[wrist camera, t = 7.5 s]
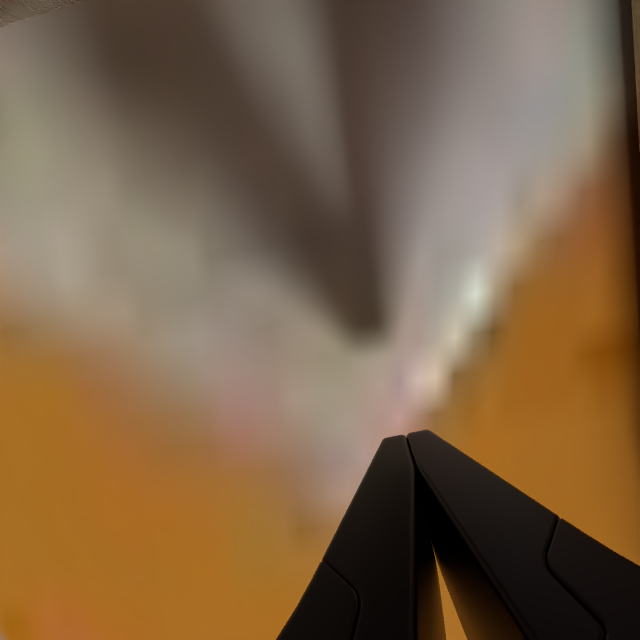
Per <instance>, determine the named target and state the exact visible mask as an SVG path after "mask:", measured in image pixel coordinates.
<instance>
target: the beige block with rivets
mask: <svg viewBox="0 0 640 640" xmlns="http://www.w3.org/2000/svg"><path fill="white" fill-rule="evenodd" d="M631 4H632V22H633V40H634V59H635V77H636V95H637V113H638V132H639V150H640V0H631Z"/></svg>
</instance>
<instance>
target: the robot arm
mask: <svg viewBox="0 0 640 640" xmlns="http://www.w3.org/2000/svg"><path fill="white" fill-rule="evenodd" d="M432 545H433V546H432ZM433 549H434V550H433ZM434 552H435V555H434ZM435 556H436V559H437V562H438V565H439V568H440V570H441V573H442V576H443V578H444V581H445V584H446V586H447V589H448V591H449V594H450V596H451V599H452V601H453V604H454V607H455V609H456V612H457V614H458V617H459V619H460V622H461V624H462V627H463V629H464V632H465V635H466V637H467V640H640V566H639V565H637V564H635V563H633V562H632V561H630V560H628V559H626V558H625V557H623V556H621V555H619V554H617V553H616V552H614V551H613V550H611V549H609V548H608V547H606V546H605V545H603V544H601V543H600V542H598V541H597V540H595V539H593V538H592V537H590V536H589V535H587V534H585V533H584V532H582V531H581V530H579V529H578V528H576V527H575V526H573V525H572V524H570V523H569V522H567V521H566V520H564V519H560V518H559V516H558V515H556V514H555V513H553V512H552V511H550V510H549V509H547V508H546V507H544V506H543V505H541V504H540V503H538V502H537V501H535V500H534V499H532V498H531V497H529V496H528V495H526V494H525V493H523V492H522V491H520V490H518V489H517V488H515V487H514V486H512V485H511V484H509V483H508V482H506V481H505V480H503V479H502V478H500V477H499V476H497V475H496V474H494V473H493V472H491V471H490V470H488V469H487V468H485V467H484V466H482V465H481V464H479V463H478V462H476V461H475V460H473V459H472V458H470V457H469V456H467V455H466V454H464V453H463V452H461V451H460V450H458V449H457V448H455V447H454V446H452V445H451V444H449V443H448V442H446V441H445V440H443V439H442V438H440V437H439V436H437V435H436V434H434V433H433V432H431V431H429V430H422V431H417V432H412V433H409V434H408V435H407V438H406V436H404V435H398V436H393V437H388V438H384V439H383V440H382V442H381V444H380V446H379V448H378V450H377V452H376V454H375V456H374V458H373V460H372V462H371V464H370V466H369V468H368V470H367V472H366V474H365V476H364V478H363V480H362V482H361V484H360V486H359V488H358V490H357V492H356V494H355V496H354V497H353V499H352V501H351V503H350V505H349V507H348V509H347V511H346V513H345V515H344V517H343V519H342V521H341V523H340V525H339V527H338V529H337V531H336V533H335V535H334V537H333V539H332V541H331V543H330V545H329V547H328V549H327V551H326V553H325V555H324V557H323V559H322V562H321V563H320V564H319V566H318V568H317V570H316V572H315V574H314V576H313V578H312V580H311V582H310V583H309V585H308V587H307V589H306V591H305V593H304V594H303V596H302V598H301V600H300V602H299V603H298V605H297V607H296V609H295V610H294V612H293V613H292V615H291V617H290V618H289V620H288V621H287V623H286V625H285V626H284V628H283V629H282V631H281V633H280V634H279V636H278V637H277V639H276V640H446V634H445V626H444V618H443V610H442V602H441V594H440V586H439V578H438V571H437V565H436V559H435Z"/></svg>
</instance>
